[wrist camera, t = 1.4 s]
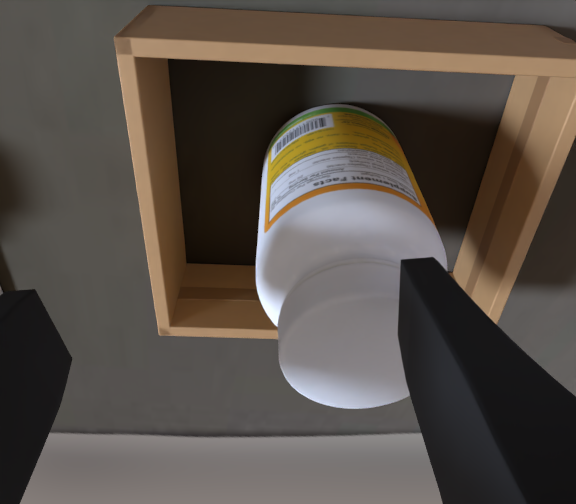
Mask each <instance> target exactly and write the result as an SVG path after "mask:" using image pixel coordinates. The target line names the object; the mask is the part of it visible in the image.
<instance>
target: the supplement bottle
mask: <svg viewBox="0 0 576 504" xmlns="http://www.w3.org/2000/svg"><path fill="white" fill-rule="evenodd" d="M426 257H434V258H435V259H436V260H437V261H439V263H440V264H441V265H442V266H443V267H444V268H445V270H446V271H447V258H446V253H445V249H444V246H443V243H442V241H441V238H440V235H439V233H438V230H437V228H436V226H435V223H434V221H433V219H432V216H431V214H430V212H429V210H428V207H427V205H426V203H425V200H424V198H423V196H422V193H421V191H420V189H419V187H418V185H417V182H416V180H415V178H414V175H413V173H412V171H411V168H410V166H409V164H408V162H407V159H406V157H405V155H404V152H403V150H402V148H401V146H400V144H399V142H398V140H397V138H396V136H395V135H394V133H393V132H392V130H391V129H390V128H389V127H388V126H387V125H386V124H385V123H384V122H383V121H382V120H381V119H380V118H378V117H377V116H375V115H374V114H372V113H370V112H368V111H366V110H364V109H361V108H358V107H355V106H351V105H344V104H329V105H323V106H318V107H314V108H311V109H308V110H306V111H303V112H301V113H299V114H298V115H296V116H294V117H293V118H291V119H290V120H289V121H288V122H286V123H285V124H284V125H283V126H282V127H281V128H280V129H279V130H278V132H277V133H276V134H275V136H274V137H273V139H272V140H271V142H270V144H269V146H268V149H267V151H266V154H265V158H264V163H263V172H262V183H261V199H260V213H259V227H258V241H257V253H256V286H257V292H258V295H259V299H260V301H261V304H262V306H263V308H264V310H265V312H266V314H267V315H268V316H269V318H270V319H271V320H272V322H273V323H274V324H275V325H276V326H277V327H278V348H279V363H280V367H281V370H282V372H283V374H284V376H285V378H286V380H287V381H288V382H289V383H290V385H291V386H292V387H293V388H294V389H296V390H297V391H298V392H299V393H301V394H302V395H304V396H306V397H307V398H309V399H311V400H313V401H315V402H318V403H321V404H324V405H328V406H333V407H338V408H350V409H361V408H372V407H377V406H382V405H386V404H390V403H393V402H397V401H399V400H401V399H404V398H406V397H408V396H409V395H410V393H409V390H408V386H407V383H406V378H405V373H404V368H403V363H402V357H401V352H400V346H399V340H398V312H399V289H400V265H401V259H414V258H426Z"/></svg>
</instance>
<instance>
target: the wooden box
mask: <svg viewBox="0 0 576 504" xmlns="http://www.w3.org/2000/svg"><path fill="white" fill-rule="evenodd" d="M114 43H115V49H116V56H117V62H118V69H119V75H120V82H121V89H122V95H123V102H124V108H125V115H126V121H127V128H128V134H129V141H130V148H131V154H132V161H133V167H134V174H135V180H136V187H137V194H138V200H139V207H140V213H141V220H142V226H143V233H144V240H145V246H146V253H147V259H148V266H149V272H150V279H151V286H152V292H153V299H154V305H155V312H156V318H157V325H158V332H159V335H162V336H195V337H228V338H261V339H278V327H277V326H276V325H275V324H274V323H273V322H272V320H271V319H270V318H269V316H268V315H267V314H266V312H265V310H264V308H263V306H262V304H261V301H260V299H259V295H258V292H257V286H256V266H248V265H219V264H191V263H187V262H186V251H185V240H184V230H183V219H182V208H181V198H180V187H179V176H178V166H177V155H176V144H175V133H174V123H173V112H172V101H171V91H170V80H169V69H168V58H169V59H189V60H210V61H231V62H252V63H273V64H294V65H314V66H335V67H356V68H377V69H398V70H419V71H439V72H460V73H481V74H502V75H515V78H514V81H513V84H512V88H511V91H510V94H509V97H508V100H507V103H506V106H505V110H504V113H503V116H502V119H501V122H500V125H499V129H498V132H497V135H496V138H495V141H494V144H493V147H492V151H491V154H490V157H489V160H488V163H487V166H486V170H485V173H484V176H483V179H482V182H481V185H480V188H479V192H478V195H477V198H476V201H475V204H474V207H473V211H472V214H471V217H470V220H469V223H468V226H467V229H466V233H465V236H464V239H463V242H462V245H461V248H460V252H459V255H458V258H457V261H456V264H455V267H454V270H453V273H449V274H450V275H451V276H452V278H453V279H454V280H455V281H456V282H457V283H458V284H459V286H460V287H461V288H462V289H463V290H464V291H465V292H466V293H467V294H468V295H469V297H470V298H471V299H472V300H473V301H474V302H475V303H476V304H477V305H478V306H479V307H480V308H481V309H482V310H483V311H484V313H485V314H486V315H487V316H488V317H489V318H490V319H491V320H492V321H493V322H494V323H495V324H496V325H497V323H498V321H499V318H500V316H501V314H502V311H503V309H504V307H505V304H506V302H507V299H508V297H509V295H510V292H511V290H512V287H513V285H514V283H515V280H516V278H517V276H518V273H519V271H520V268H521V266H522V264H523V261H524V259H525V256H526V254H527V252H528V249H529V247H530V244H531V242H532V240H533V237H534V235H535V233H536V230H537V228H538V225H539V223H540V221H541V218H542V216H543V213H544V211H545V209H546V206H547V204H548V202H549V199H550V197H551V194H552V192H553V190H554V187H555V185H556V182H557V180H558V178H559V175H560V173H561V170H562V168H563V166H564V163H565V161H566V159H567V156H568V154H569V151H570V149H571V147H572V144H573V142H574V139H575V137H576V42H574V41H573V40H571V39H569V38H567V37H564V36H562V35H560V34H558V33H557V32H555V31H553V30H552V29H550V28H548V27H546V26H544V25H525V24H505V23H486V22H466V21H447V20H427V19H408V18H389V17H369V16H350V15H330V14H311V13H291V12H272V11H252V10H233V9H213V8H194V7H174V6H155V5H148V6H147V7H146V8H145V9H143V10H142V11H141V12H140V13H139V14H138V15H137V16H136V17H135V18H134V19H133V20H132V21H131V22H130V23H128V24H127V25H126V26H125V27H124V28H123V29H122V30H121V31H120V32H119V33H118V34H117V35H116V36H115V37H114Z"/></svg>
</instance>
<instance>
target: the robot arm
mask: <svg viewBox="0 0 576 504" xmlns="http://www.w3.org/2000/svg"><path fill="white" fill-rule="evenodd" d="M398 340H399V346H400V352H401V357H402V363H403V368H404V373H405V378H406V383H407V386H408V390H409V393H410V396H411V400H412V403H413V406H414V410H415V413H416V416H417V420H418V423H419V426H420V429H421V432H422V436H423V439H424V442H425V445H426V449H427V452H428V455H429V458H430V462H431V465H432V468H433V471H434V475H435V478H436V481H437V484H438V488H439V491H440V495H441V498H442V502H443V504H576V397H575V396H574V395H573V394H572V393H571V392H569V391H568V390H567V389H566V388H565V387H563V386H562V385H561V384H560V383H559V382H558V381H556V380H555V379H554V378H553V377H552V376H551V375H549V374H548V373H547V372H546V371H545V370H544V369H543V368H542V367H541V366H539V365H538V364H537V363H536V362H535V361H534V360H533V359H532V358H531V357H529V356H528V355H527V354H526V353H525V352H524V351H523V350H522V349H521V348H520V347H519V346H518V345H517V344H516V343H515V342H513V341H512V340H511V339H510V338H509V337H508V336H507V335H506V334H505V333H504V332H503V331H502V330H501V329H500V328H499V327H498V326H497V325H496V324H495V323H494V322H493V321H492V320H491V319H490V318H489V317H488V316H487V315H486V314H485V313H484V311H483V310H482V309H481V308H480V307H479V306H478V305H477V304H476V303H475V302H474V301H473V300H472V299H471V298H470V297H469V295H468V294H467V293H466V292H465V291H464V290H463V289H462V288H461V287H460V286H459V284H458V283H457V282H456V281H455V280H454V279H453V278H452V276H451V275H450V274H449V273H448V272H447V271H446V270H445V268H444V267H443V266H442V265H441V264H440V263H439V261H437V260H436V259H435V258H434V257H426V258H414V259H401V265H400V289H399V312H398ZM71 362H72V357H71V355H70V353H69V352H68V350H67V348H66V346H65V344H64V342H63V340H62V339H61V337H60V335H59V333H58V331H57V329H56V327H55V325H54V324H53V322H52V320H51V318H50V316H49V314H48V312H47V311H46V309H45V307H44V305H43V303H42V301H41V299H40V298H39V296H38V294H37V292H36V290H35V289H32V290H19V291H7V292H4V293H3V294H1V295H0V504H20V501H21V499H22V497H23V494H24V492H25V490H26V487H27V485H28V482H29V480H30V477H31V475H32V473H33V470H34V468H35V466H36V463H37V461H38V458H39V456H40V454H41V451H42V449H43V447H44V444H45V442H46V439H47V437H48V434H49V432H50V430H51V427H52V425H53V422H54V420H55V417H56V415H57V412H58V410H59V407H60V404H61V401H62V397H63V393H64V390H65V386H66V383H67V378H68V374H69V370H70V366H71Z"/></svg>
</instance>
